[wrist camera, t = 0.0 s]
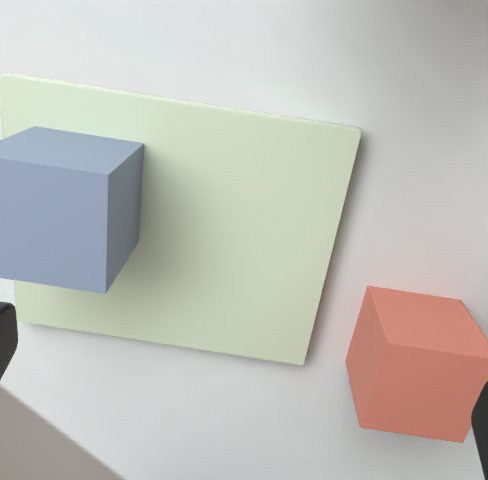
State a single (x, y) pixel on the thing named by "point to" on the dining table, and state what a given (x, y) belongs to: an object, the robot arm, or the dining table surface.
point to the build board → (202, 219)
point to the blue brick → (68, 207)
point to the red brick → (416, 364)
